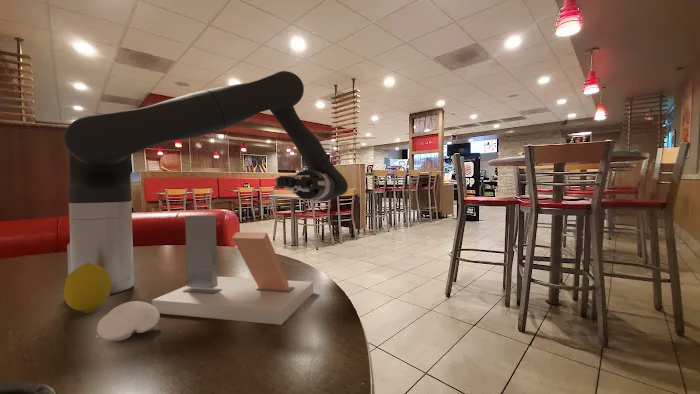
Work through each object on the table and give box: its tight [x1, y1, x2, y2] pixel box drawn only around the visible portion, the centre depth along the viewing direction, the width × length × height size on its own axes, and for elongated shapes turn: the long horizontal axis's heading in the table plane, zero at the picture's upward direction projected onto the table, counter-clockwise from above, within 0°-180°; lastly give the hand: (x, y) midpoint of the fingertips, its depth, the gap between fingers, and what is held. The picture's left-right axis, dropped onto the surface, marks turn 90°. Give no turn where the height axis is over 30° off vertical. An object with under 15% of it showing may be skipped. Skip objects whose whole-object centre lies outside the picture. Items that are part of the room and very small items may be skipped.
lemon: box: [63, 263, 111, 314], centre depth 45 cm, size 6×6×8 cm
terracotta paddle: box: [232, 231, 289, 290], centre depth 45 cm, size 5×1×12 cm
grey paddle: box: [184, 215, 218, 288], centre depth 49 cm, size 5×1×12 cm, turn 77°
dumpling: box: [95, 300, 161, 342], centre depth 38 cm, size 7×5×4 cm
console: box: [151, 275, 314, 326], centre depth 49 cm, size 22×13×2 cm, turn 77°
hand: (282, 181), depth 59 cm, fingers closed
